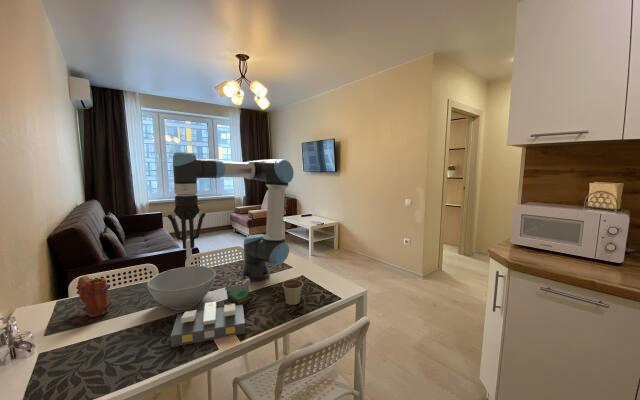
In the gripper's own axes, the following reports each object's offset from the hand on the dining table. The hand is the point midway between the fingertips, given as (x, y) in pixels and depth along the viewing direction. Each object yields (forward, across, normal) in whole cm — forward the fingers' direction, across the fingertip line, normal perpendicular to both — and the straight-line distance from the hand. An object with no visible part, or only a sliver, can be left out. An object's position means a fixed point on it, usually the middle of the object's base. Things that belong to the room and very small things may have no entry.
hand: (189, 256), depth 101 cm
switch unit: (+26, +7, -7) cm, 28 cm away
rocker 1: (+20, 0, -7) cm, 21 cm away
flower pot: (+27, +41, +3) cm, 49 cm away
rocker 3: (+20, +14, -7) cm, 25 cm away
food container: (+27, +19, +9) cm, 34 cm away
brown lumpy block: (+27, -39, +20) cm, 51 cm away
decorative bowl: (+27, -5, +17) cm, 32 cm away
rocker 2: (+20, +7, -7) cm, 22 cm away
